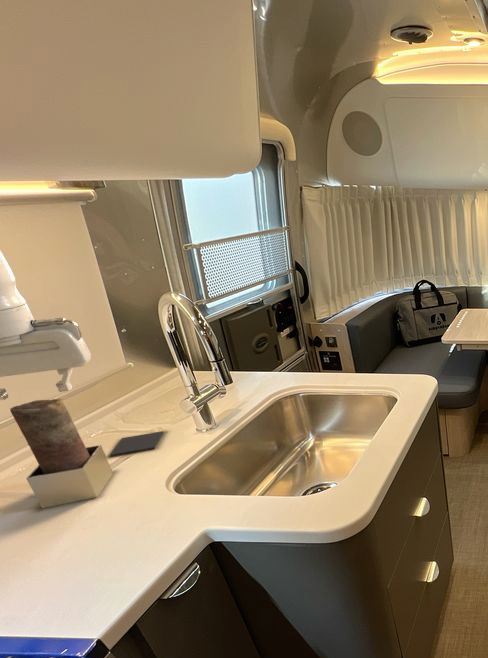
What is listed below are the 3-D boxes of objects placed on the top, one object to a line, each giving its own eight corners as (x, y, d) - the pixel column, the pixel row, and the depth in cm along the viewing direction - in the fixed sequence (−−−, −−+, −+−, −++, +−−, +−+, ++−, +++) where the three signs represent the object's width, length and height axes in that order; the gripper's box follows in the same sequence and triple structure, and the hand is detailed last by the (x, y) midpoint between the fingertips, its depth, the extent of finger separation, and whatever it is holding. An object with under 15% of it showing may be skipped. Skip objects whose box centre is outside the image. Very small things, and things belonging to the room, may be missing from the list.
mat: (111, 456, 111) (110, 454, 111) (122, 439, 118) (122, 438, 118) (154, 448, 114) (154, 446, 114) (163, 432, 121) (163, 431, 121)
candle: (46, 496, 98) (0, 407, 89) (87, 476, 104) (47, 392, 96) (71, 503, 95) (26, 413, 87) (111, 482, 102) (73, 397, 93)
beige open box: (42, 508, 94) (26, 478, 91) (63, 481, 102) (48, 453, 99) (96, 497, 97) (83, 467, 94) (113, 472, 105) (101, 444, 102)
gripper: (80, 312, 91) (108, 379, 97) (-67, 326, 84) (-28, 398, 90) (66, 320, 86) (97, 391, 92) (-93, 336, 79) (-49, 412, 85)
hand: (34, 394), depth 91 cm, fingers open, 8 cm apart
